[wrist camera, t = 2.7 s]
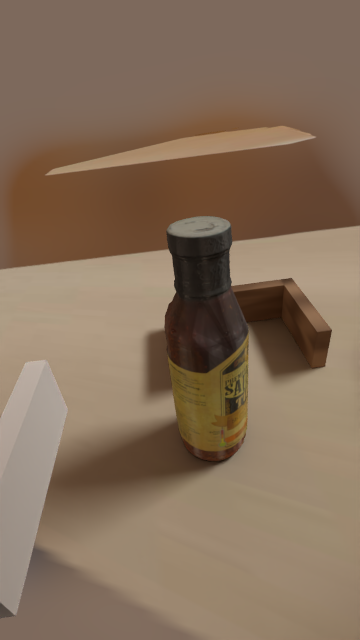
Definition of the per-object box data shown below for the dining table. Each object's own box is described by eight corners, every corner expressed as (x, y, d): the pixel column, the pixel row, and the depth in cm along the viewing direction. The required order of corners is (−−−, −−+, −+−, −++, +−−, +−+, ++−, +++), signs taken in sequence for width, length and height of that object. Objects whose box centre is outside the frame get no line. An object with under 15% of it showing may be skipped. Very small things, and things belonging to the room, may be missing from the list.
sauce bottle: (242, 471, 28) (243, 250, 17) (171, 457, 30) (128, 248, 18) (250, 410, 33) (255, 208, 22) (189, 401, 35) (164, 210, 24)
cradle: (324, 366, 37) (331, 330, 34) (190, 384, 37) (186, 349, 34) (288, 310, 46) (291, 278, 44) (181, 324, 46) (177, 293, 43)
